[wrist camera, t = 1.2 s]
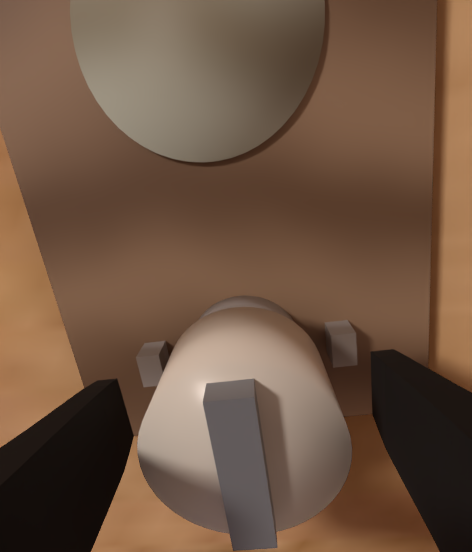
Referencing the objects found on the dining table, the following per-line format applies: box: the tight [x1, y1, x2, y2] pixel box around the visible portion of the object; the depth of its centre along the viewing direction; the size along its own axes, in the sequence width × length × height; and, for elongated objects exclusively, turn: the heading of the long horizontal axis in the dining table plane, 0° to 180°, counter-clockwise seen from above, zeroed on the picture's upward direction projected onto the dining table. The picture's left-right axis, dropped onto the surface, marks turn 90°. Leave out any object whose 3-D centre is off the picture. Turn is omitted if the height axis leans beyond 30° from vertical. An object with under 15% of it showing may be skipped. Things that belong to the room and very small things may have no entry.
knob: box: [137, 307, 352, 551], centre depth 9 cm, size 5×5×4 cm
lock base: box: [0, 0, 437, 436], centre depth 10 cm, size 17×13×3 cm
